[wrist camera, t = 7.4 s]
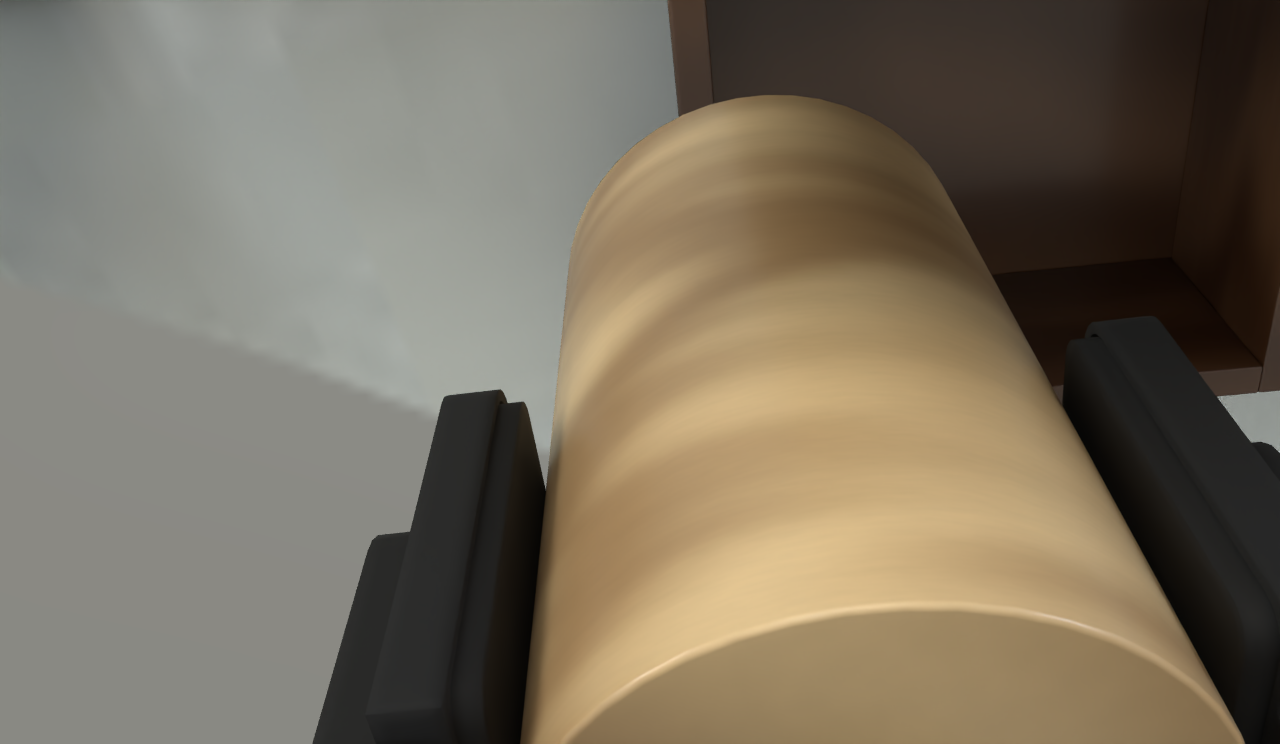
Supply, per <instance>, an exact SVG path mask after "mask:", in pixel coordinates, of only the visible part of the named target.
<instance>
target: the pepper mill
mask: <svg viewBox="0 0 1280 744" xmlns="http://www.w3.org/2000/svg"><path fill="white" fill-rule="evenodd" d="M520 744H1245V742H1244V739H1243V737H1242V735H1241V733H1240V731H1239V729H1238V727H1237V725H1236V723H1235V722H1234V720H1233V718H1232V716H1231V714H1230V712H1229V711H1228V709H1227V707H1226V705H1225V703H1224V701H1223V700H1222V698H1221V696H1220V694H1219V692H1218V690H1217V689H1216V687H1215V685H1214V683H1213V681H1212V679H1211V678H1210V676H1209V674H1208V672H1207V670H1206V668H1205V667H1204V665H1203V663H1202V661H1201V659H1200V657H1199V656H1198V654H1197V652H1196V650H1195V648H1194V646H1193V645H1192V643H1191V641H1190V639H1189V637H1188V635H1187V633H1186V632H1185V630H1184V628H1183V626H1182V624H1181V622H1180V621H1179V619H1178V617H1177V615H1176V613H1175V611H1174V610H1173V608H1172V606H1171V604H1170V602H1169V600H1168V599H1167V597H1166V595H1165V593H1164V591H1163V589H1162V588H1161V586H1160V584H1159V582H1158V580H1157V578H1156V577H1155V575H1154V573H1153V571H1152V569H1151V567H1150V566H1149V564H1148V562H1147V560H1146V558H1145V556H1144V555H1143V553H1142V551H1141V549H1140V547H1139V545H1138V544H1137V542H1136V540H1135V538H1134V536H1133V534H1132V532H1131V531H1130V529H1129V527H1128V525H1127V523H1126V521H1125V520H1124V518H1123V516H1122V514H1121V512H1120V510H1119V509H1118V507H1117V505H1116V503H1115V501H1114V499H1113V498H1112V496H1111V494H1110V492H1109V490H1108V488H1107V487H1106V485H1105V483H1104V481H1103V479H1102V477H1101V476H1100V474H1099V472H1098V470H1097V468H1096V466H1095V465H1094V463H1093V461H1092V459H1091V457H1090V455H1089V454H1088V452H1087V450H1086V448H1085V446H1084V444H1083V442H1082V441H1081V439H1080V437H1079V435H1078V433H1077V431H1076V430H1075V428H1074V426H1073V424H1072V422H1071V420H1070V419H1069V417H1068V415H1067V413H1066V411H1065V409H1064V408H1063V406H1062V404H1061V402H1060V400H1059V398H1058V397H1057V395H1056V393H1055V391H1054V389H1053V387H1052V386H1051V384H1050V382H1049V380H1048V378H1047V376H1046V375H1045V373H1044V371H1043V369H1042V367H1041V365H1040V364H1039V362H1038V360H1037V358H1036V356H1035V354H1034V352H1033V351H1032V349H1031V347H1030V345H1029V343H1028V341H1027V340H1026V338H1025V336H1024V334H1023V332H1022V330H1021V329H1020V327H1019V325H1018V323H1017V321H1016V319H1015V318H1014V316H1013V314H1012V312H1011V310H1010V308H1009V307H1008V305H1007V303H1006V301H1005V299H1004V297H1003V296H1002V294H1001V292H1000V290H999V288H998V286H997V285H996V283H995V281H994V279H993V277H992V275H991V274H990V272H989V270H988V268H987V266H986V264H985V262H984V261H983V259H982V257H981V255H980V253H979V251H978V250H977V248H976V246H975V244H974V242H973V240H972V239H971V237H970V235H969V233H968V231H967V229H966V228H965V226H964V224H963V222H962V220H961V218H960V217H959V215H958V213H957V211H956V209H955V207H954V206H953V204H952V202H951V200H950V198H949V196H948V195H947V193H946V191H945V189H944V187H943V185H942V184H941V182H940V181H939V179H938V178H937V176H936V175H935V173H934V172H933V170H932V169H931V167H930V166H929V164H928V163H927V162H926V161H925V160H924V159H923V158H922V156H921V155H920V154H919V153H918V152H917V151H916V150H915V149H914V148H913V146H911V145H910V144H909V143H908V142H906V141H905V140H904V139H903V138H902V137H900V136H899V135H898V134H897V133H896V132H894V131H893V130H891V129H890V128H888V127H887V126H885V125H883V124H882V123H880V122H878V121H877V120H875V119H873V118H872V117H870V116H867V115H865V114H863V113H860V112H858V111H856V110H853V109H851V108H849V107H847V106H843V105H839V104H836V103H832V102H829V101H825V100H821V99H816V98H808V97H801V96H794V95H760V96H752V97H743V98H735V99H731V100H727V101H723V102H719V103H715V104H711V105H708V106H705V107H703V108H700V109H697V110H695V111H692V112H689V113H687V114H684V115H682V116H680V117H678V118H676V119H675V120H673V121H671V122H669V123H667V124H665V125H663V126H661V127H660V128H658V129H657V130H655V131H654V132H652V133H651V134H649V135H648V136H647V137H645V138H644V139H642V140H641V141H640V142H638V143H637V144H636V145H635V146H634V147H632V148H631V149H630V150H629V151H628V152H627V153H626V154H625V155H624V156H623V157H622V158H621V159H619V160H618V161H617V162H616V164H615V165H614V166H613V167H612V169H611V170H610V171H609V172H608V173H607V175H606V176H605V177H604V178H603V179H602V181H601V182H600V184H599V185H598V187H597V188H596V190H595V192H594V193H593V195H592V196H591V198H590V200H589V201H588V203H587V205H586V207H585V210H584V212H583V214H582V217H581V219H580V221H579V223H578V226H577V229H576V233H575V237H574V240H573V244H572V247H571V255H570V263H569V271H568V280H567V290H566V300H565V309H564V319H563V329H562V339H561V349H560V358H559V368H558V378H557V388H556V397H555V407H554V417H553V427H552V437H551V446H550V456H549V466H548V476H547V486H546V495H545V505H544V515H543V525H542V534H541V544H540V554H539V564H538V573H537V583H536V593H535V603H534V613H533V622H532V632H531V642H530V652H529V661H528V671H527V681H526V691H525V700H524V710H523V720H522V730H521V740H520Z"/></svg>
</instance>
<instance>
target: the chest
mask: <svg viewBox="0 0 1280 744" xmlns="http://www.w3.org/2000/svg"><path fill="white" fill-rule="evenodd" d="M667 2H668V12H669V22H670V32H671V43H672V53H673V63H674V73H675V83H676V94H677V104H678V114H679V117H680V116H682V115H684V114H687V113H689V112H692V111H695V110H697V109H700V108H703V107H705V106H708V105H711V104H715V103H719V102H723V101H727V100H731V99H735V98H743V97H752V96H760V95H794V96H801V97H808V98H816V99H821V100H825V101H829V102H832V103H836V104H839V105H843V106H847V107H849V108H851V109H853V110H856V111H858V112H860V113H863V114H865V115H867V116H870V117H872V118H873V119H875V120H877V121H878V122H880V123H882V124H883V125H885V126H887V127H888V128H890V129H891V130H893V131H894V132H896V133H897V134H898V135H899V136H900V137H902V138H903V139H904V140H905V141H906V142H908V143H909V144H910V145H911V146H913V148H914V149H915V150H916V151H917V152H918V153H919V154H920V155H921V156H922V158H923V159H924V160H925V161H926V162H927V163H928V164H929V166H930V167H931V169H932V170H933V172H934V173H935V175H936V176H937V178H938V179H939V181H940V182H941V184H942V185H943V187H944V189H945V191H946V193H947V195H948V196H949V198H950V200H951V202H952V204H953V206H954V207H955V209H956V211H957V213H958V215H959V217H960V218H961V220H962V222H963V224H964V226H965V228H966V229H967V231H968V233H969V235H970V237H971V239H972V240H973V242H974V244H975V246H976V248H977V250H978V251H979V253H980V255H981V257H982V259H983V261H984V262H985V264H986V266H987V268H988V270H989V272H990V274H991V275H992V277H993V279H994V281H995V283H996V285H997V286H998V288H999V290H1000V292H1001V294H1002V296H1003V297H1004V299H1005V301H1006V303H1007V305H1008V307H1009V308H1010V310H1011V312H1012V314H1013V316H1014V318H1015V319H1016V321H1017V323H1018V325H1019V327H1020V329H1021V330H1022V332H1023V334H1024V336H1025V338H1026V340H1027V341H1028V343H1029V345H1030V347H1031V349H1032V351H1033V352H1034V354H1035V356H1036V358H1037V360H1038V362H1039V364H1040V365H1041V367H1042V369H1043V371H1044V373H1045V375H1046V376H1047V378H1048V380H1049V382H1050V384H1051V386H1052V387H1053V389H1054V391H1055V393H1056V395H1057V397H1058V398H1059V400H1060V402H1061V404H1062V398H1063V384H1064V370H1065V356H1066V349H1067V346H1068V343H1069V342H1070V341H1071V340H1074V339H1083V338H1085V333H1086V330H1087V328H1088V326H1089V325H1090V324H1091V323H1092V322H1099V321H1108V320H1117V319H1126V318H1135V317H1143V316H1155V317H1156V318H1157V319H1158V320H1159V321H1160V322H1161V323H1162V325H1163V326H1164V327H1165V329H1166V330H1167V331H1168V333H1169V334H1170V335H1171V337H1172V338H1173V339H1174V341H1175V342H1176V343H1177V345H1178V346H1179V347H1180V349H1181V350H1182V351H1183V353H1184V354H1185V355H1186V357H1187V358H1188V359H1189V361H1190V362H1191V363H1192V365H1193V366H1194V367H1195V369H1196V370H1197V371H1198V373H1199V374H1200V375H1201V377H1202V378H1203V379H1204V381H1205V382H1206V383H1207V385H1208V386H1209V387H1210V389H1211V390H1212V391H1213V393H1214V394H1215V395H1216V396H1227V395H1238V394H1248V393H1257V392H1269V391H1280V0H667Z"/></svg>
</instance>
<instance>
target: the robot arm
mask: <svg viewBox="0 0 1280 744" xmlns="http://www.w3.org/2000/svg"><path fill="white" fill-rule="evenodd" d="M1062 406H1063V408H1064V409H1065V411H1066V413H1067V415H1068V417H1069V419H1070V420H1071V422H1072V424H1073V426H1074V428H1075V430H1076V431H1077V433H1078V435H1079V437H1080V439H1081V441H1082V442H1083V444H1084V446H1085V448H1086V450H1087V452H1088V454H1089V455H1090V457H1091V459H1092V461H1093V463H1094V465H1095V466H1096V468H1097V470H1098V472H1099V474H1100V476H1101V477H1102V479H1103V481H1104V483H1105V485H1106V487H1107V488H1108V490H1109V492H1110V494H1111V496H1112V498H1113V499H1114V501H1115V503H1116V505H1117V507H1118V509H1119V510H1120V512H1121V514H1122V516H1123V518H1124V520H1125V521H1126V523H1127V525H1128V527H1129V529H1130V531H1131V532H1132V534H1133V536H1134V538H1135V540H1136V542H1137V544H1138V545H1139V547H1140V549H1141V551H1142V553H1143V555H1144V556H1145V558H1146V560H1147V562H1148V564H1149V566H1150V567H1151V569H1152V571H1153V573H1154V575H1155V577H1156V578H1157V580H1158V582H1159V584H1160V586H1161V588H1162V589H1163V591H1164V593H1165V595H1166V597H1167V599H1168V600H1169V602H1170V604H1171V606H1172V608H1173V610H1174V611H1175V613H1176V615H1177V617H1178V619H1179V621H1180V622H1181V624H1182V626H1183V628H1184V630H1185V632H1186V633H1187V635H1188V637H1189V639H1190V641H1191V643H1192V645H1193V646H1194V648H1195V650H1196V652H1197V654H1198V656H1199V657H1200V659H1201V661H1202V663H1203V665H1204V667H1205V668H1206V670H1207V672H1208V674H1209V676H1210V678H1211V679H1212V681H1213V683H1214V685H1215V687H1216V689H1217V690H1218V692H1219V694H1220V696H1221V698H1222V700H1223V701H1224V703H1225V705H1226V707H1227V709H1228V711H1229V712H1230V714H1231V716H1232V718H1233V720H1234V722H1235V723H1236V725H1237V727H1238V729H1239V731H1240V733H1241V735H1242V737H1243V739H1244V742H1245V744H1280V453H1279V452H1278V451H1277V450H1276V449H1275V448H1274V447H1273V446H1272V445H1269V444H1266V443H1263V442H1254V443H1251V442H1250V441H1249V439H1248V438H1247V437H1246V435H1245V434H1244V433H1243V431H1242V430H1241V429H1240V427H1239V426H1238V425H1237V423H1236V422H1235V421H1234V419H1233V418H1232V417H1231V415H1230V414H1229V413H1228V411H1227V410H1226V409H1225V407H1224V406H1223V405H1222V403H1221V402H1220V401H1219V399H1218V398H1217V397H1216V395H1215V394H1214V393H1213V391H1212V390H1211V389H1210V387H1209V386H1208V385H1207V383H1206V382H1205V381H1204V379H1203V378H1202V377H1201V375H1200V374H1199V373H1198V371H1197V370H1196V369H1195V367H1194V366H1193V365H1192V363H1191V362H1190V361H1189V359H1188V358H1187V357H1186V355H1185V354H1184V353H1183V351H1182V350H1181V349H1180V347H1179V346H1178V345H1177V343H1176V342H1175V341H1174V339H1173V338H1172V337H1171V335H1170V334H1169V333H1168V331H1167V330H1166V329H1165V327H1164V326H1163V325H1162V323H1161V322H1160V321H1159V320H1158V319H1157V318H1156V317H1155V316H1143V317H1135V318H1126V319H1117V320H1108V321H1099V322H1092V323H1091V324H1090V325H1089V326H1088V328H1087V330H1086V333H1085V338H1083V339H1074V340H1071V341H1070V342H1069V343H1068V346H1067V349H1066V356H1065V370H1064V384H1063V398H1062ZM545 495H546V489H545V485H544V481H543V476H542V472H541V467H540V462H539V458H538V453H537V449H536V444H535V440H534V435H533V431H532V426H531V422H530V417H529V413H528V410H527V407H526V404H525V403H524V402H516V403H507V400H506V397H505V395H504V393H503V391H502V390H492V391H483V392H474V393H465V394H457V395H448V396H445V397H444V399H443V401H442V404H441V409H440V413H439V417H438V421H437V425H436V429H435V433H434V437H433V441H432V445H431V449H430V453H429V457H428V461H427V466H426V469H425V474H424V478H423V482H422V486H421V490H420V494H419V498H418V502H417V506H416V510H415V514H414V519H413V522H412V526H411V531H410V532H405V533H395V534H385V535H378V536H377V537H376V538H374V539H373V540H372V542H371V545H370V547H369V549H368V552H367V556H366V559H365V563H364V566H363V569H362V573H361V576H360V580H359V583H358V587H357V590H356V594H355V597H354V601H353V604H352V608H351V611H350V615H349V618H348V622H347V625H346V628H345V632H344V636H343V639H342V643H341V646H340V650H339V653H338V656H337V660H336V663H335V667H334V670H333V674H332V678H331V681H330V684H329V688H328V691H327V695H326V698H325V702H324V706H323V709H322V712H321V716H320V719H319V723H318V726H317V730H316V733H315V737H314V740H313V744H520V740H521V730H522V720H523V710H524V700H525V691H526V681H527V671H528V661H529V652H530V642H531V632H532V622H533V613H534V603H535V593H536V583H537V573H538V564H539V554H540V544H541V534H542V525H543V515H544V505H545Z"/></svg>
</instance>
